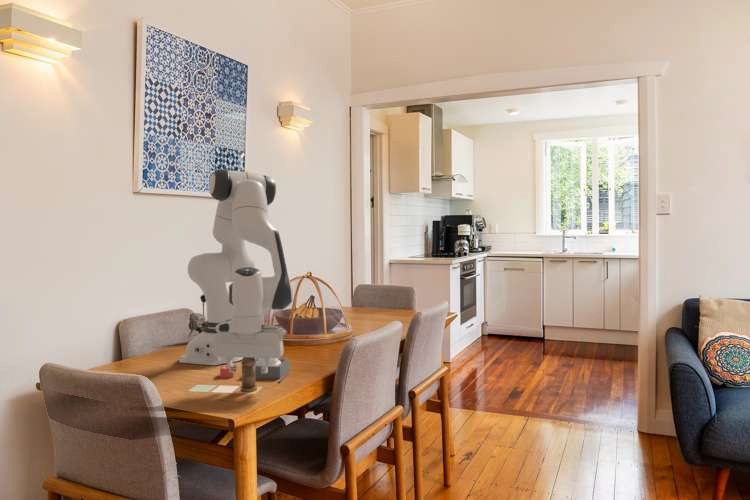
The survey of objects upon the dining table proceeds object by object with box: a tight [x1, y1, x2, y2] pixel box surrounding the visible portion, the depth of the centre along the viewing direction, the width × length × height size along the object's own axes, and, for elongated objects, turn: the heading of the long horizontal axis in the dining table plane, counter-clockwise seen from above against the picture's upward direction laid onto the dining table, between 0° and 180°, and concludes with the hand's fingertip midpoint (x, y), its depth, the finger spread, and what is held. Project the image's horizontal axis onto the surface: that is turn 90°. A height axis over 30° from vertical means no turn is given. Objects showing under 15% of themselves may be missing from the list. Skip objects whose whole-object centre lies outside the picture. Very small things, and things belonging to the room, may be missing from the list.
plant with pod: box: [187, 293, 207, 339], centre depth 238 cm, size 8×11×20 cm
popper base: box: [255, 357, 291, 384], centre depth 181 cm, size 11×11×5 cm
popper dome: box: [255, 358, 281, 366], centre depth 181 cm, size 8×8×6 cm
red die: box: [219, 365, 236, 379], centre depth 178 cm, size 4×4×4 cm
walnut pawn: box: [240, 357, 258, 392], centre depth 163 cm, size 5×5×10 cm
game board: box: [187, 384, 263, 395], centre depth 164 cm, size 21×9×1 cm, turn 83°
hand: (248, 372), depth 163 cm, fingers open, 8 cm apart
